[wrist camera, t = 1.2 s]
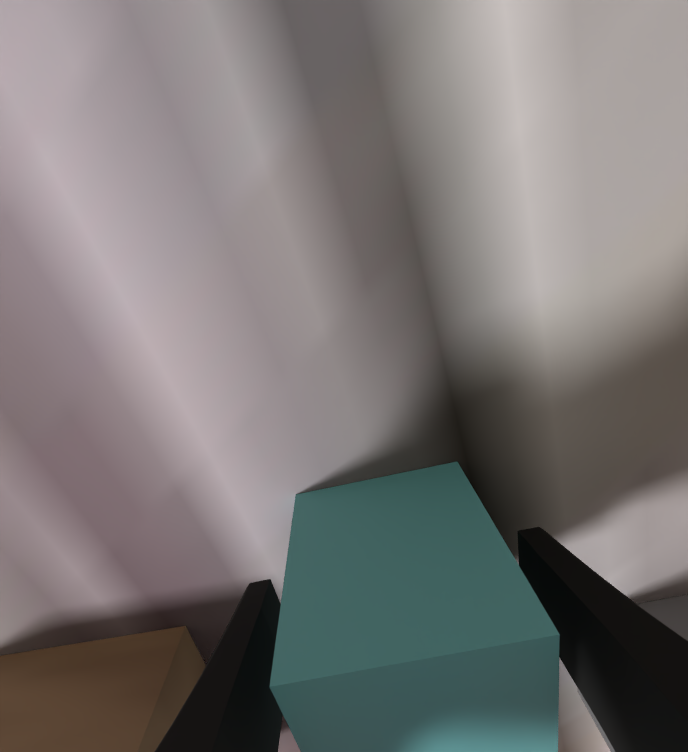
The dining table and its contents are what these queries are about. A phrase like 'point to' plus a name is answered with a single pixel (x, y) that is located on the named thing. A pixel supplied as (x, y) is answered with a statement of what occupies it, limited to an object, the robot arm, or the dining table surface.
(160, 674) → the base block
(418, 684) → the teal cube
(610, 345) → the dining table surface
